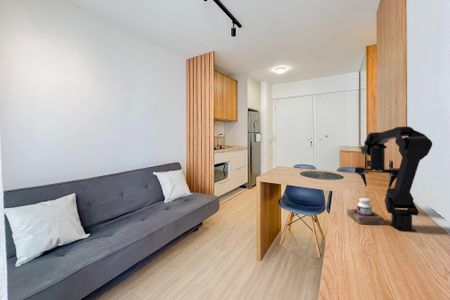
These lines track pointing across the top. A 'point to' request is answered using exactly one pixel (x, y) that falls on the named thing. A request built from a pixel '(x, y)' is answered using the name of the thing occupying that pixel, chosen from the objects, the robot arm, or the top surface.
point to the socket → (365, 217)
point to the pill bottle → (364, 207)
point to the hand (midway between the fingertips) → (377, 187)
